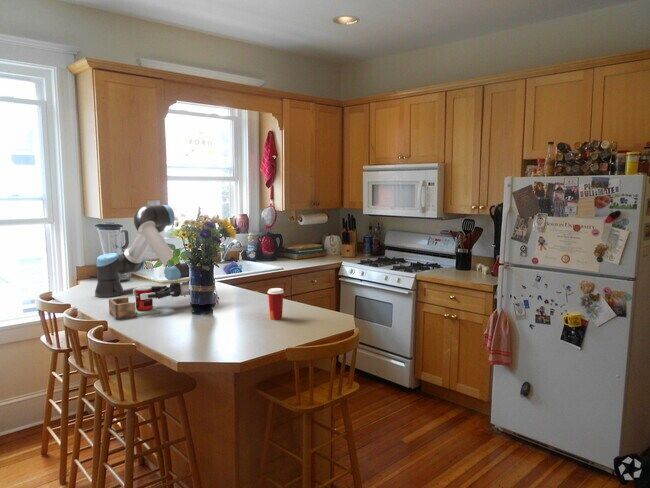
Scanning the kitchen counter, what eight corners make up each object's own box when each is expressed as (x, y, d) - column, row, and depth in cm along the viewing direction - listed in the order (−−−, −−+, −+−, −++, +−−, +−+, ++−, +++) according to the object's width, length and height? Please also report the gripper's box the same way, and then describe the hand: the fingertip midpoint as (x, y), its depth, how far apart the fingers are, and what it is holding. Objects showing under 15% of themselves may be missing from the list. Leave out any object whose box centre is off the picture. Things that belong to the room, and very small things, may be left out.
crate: (151, 307, 257) (150, 293, 256) (159, 312, 246) (159, 299, 245) (109, 313, 246) (108, 299, 245) (116, 319, 234) (115, 305, 233)
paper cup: (286, 317, 238) (286, 288, 236) (280, 321, 231) (279, 291, 229) (271, 315, 241) (271, 287, 239) (264, 319, 233) (264, 290, 232)
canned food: (138, 307, 252) (137, 286, 250) (154, 307, 252) (153, 285, 251) (134, 311, 244) (133, 289, 243) (150, 311, 245) (149, 289, 243)
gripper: (187, 300, 248) (144, 307, 236) (171, 291, 268) (130, 297, 256) (187, 286, 247) (143, 291, 235) (171, 278, 267) (130, 282, 255)
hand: (136, 294), depth 245 cm, fingers open, 13 cm apart
